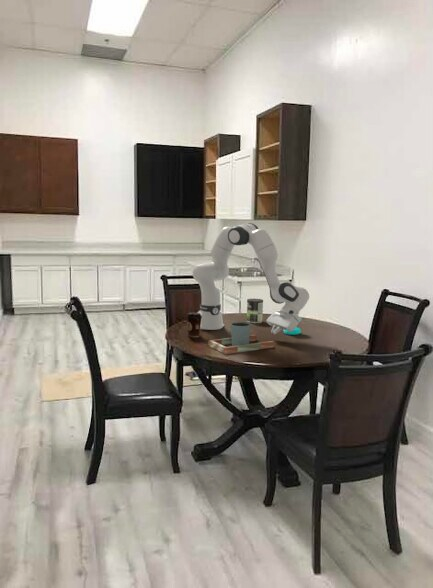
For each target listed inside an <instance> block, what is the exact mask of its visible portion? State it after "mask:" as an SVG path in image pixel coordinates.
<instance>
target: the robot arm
mask: <svg viewBox="0 0 433 588" xmlns="http://www.w3.org/2000/svg"><path fill="white" fill-rule="evenodd" d="M243 245H251V246H252V248H253V250H254V252H255V255H256V257H257V259H258V261H259V263H260V265H261V266H260V267H261V268H262V272H263V274H264V277H265V279H266V282H267V286H268V287H269V295H270V296H269V297H270V299H271V301H272V302H274V303H276V304H277V305H278V304H279V305H280V304H281V305H282V304H284V305H283V306H282V308H281V309H280V310H277V311H274V312H272V313H271V315H269V316H268V318H267V319H266V323H267V325H269V326H271V327H272V328H271V330H270V333H271V334H273V335H276V334H277V333H279V332H280V331H282V330H286V331H289V332H291V331H293V330H294V329H295V328H296V327H298V325H299V323H300V322H302V318H301V319H300V317H301V316H300V317H299V314H300V311H302V310H303V309H304V307H305V306H306V305H307V304H308V301H309V300H310V294H309V292H308V291H307V289H306V288H305V287H302V286H296V285H293V284H292V283H290V282H286V281H285V282H282V283H281V282H280V279H279V277H278V274H277V271H276V262H277V260H278V257H279V256H278V255H279V254H278V251H277V248H276V246H275V243H274V241H273V239H272V238H271V236H270V234H269V232H267V230H266V229H264V228H259V227H258V225H256V224H255V223H251V222H249V223H242V224H238V225H235V226H227V225H226V226H225V227H223V228H221V230H220V231H219V233H218V234H217V236H216V238H215V241H214V243H213V246H212V247H211V249H210V253H209V254H210V256H211V258H212V260H211V261H210V262H206V263H200V264H197V265H195V266H194V267H193V269H192V277H193V279H194V280H195V281H196V282H197V283H198V285H199V287H200V288H199V289H200V292H201V303H200V304H199V311H197V313H200V314H201V316H202V318H201V325H200V330H205V331H206V330H208V331H209V330H210V331H211V330H213V331H214V330H215V331H216V330H221V329H222V328H223V327H225V324H224V323H223V322H224V321H223V313H222V312H221V309H222V306H221V291H220V290H219V289H218V288H217V287H216V284H215V282H216V281H217V282H218V281H221V280H225V279H226V278H227V277H228V276H229V274H230V269H229V266H228V261H229V258H230V256H231V254H232V251H233V249H234V247H235V246H243ZM298 322H299V323H298Z"/></svg>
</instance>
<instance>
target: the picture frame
mask: <svg viewBox="0 0 433 588" xmlns="http://www.w3.org/2000/svg"><path fill="white" fill-rule="evenodd" d="M249 335H250V337H249V342H253V343H249V344H245V345H238V346H232V337H226V338H225V337H224V338H218V339H217V338H216V339H210V340H208V344H207V345H208V347H210V348H211V349H213V350H216V351H218V352H220V353H223V354H224V355H230V354H236V353H237V354H238V353H243V352H251V351H256V350H257V351H258V350H263V349H264V350H265V349H271V348H274V347H275V341H274V340H270V341H261V342H255V341H258V335H257V334H249ZM254 342H255V343H254ZM225 345H231V346H225Z"/></svg>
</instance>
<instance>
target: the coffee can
mask: <svg viewBox="0 0 433 588" xmlns="http://www.w3.org/2000/svg"><path fill="white" fill-rule="evenodd" d="M246 304H247V305H246V323H249V324H261V323H262V322H263V312H264V311H263V309H264V300H263V299H262V298H247V299H246Z"/></svg>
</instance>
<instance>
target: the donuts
mask: <svg viewBox="0 0 433 588" xmlns="http://www.w3.org/2000/svg"><path fill="white" fill-rule="evenodd" d="M298 316H299V315H298ZM299 317H300V319H301V320H302V317H301V316H299ZM299 323H300V322H298V324H299ZM282 330H283V329H282ZM301 330H302V329H301V328H300V327H298V326H296V328H295V329H294V330H293V331H291V332H289V331H286V330H283V334H286V335H289V336H290V335H291V336H297V335H300V334H301V332H302V331H301Z"/></svg>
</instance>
